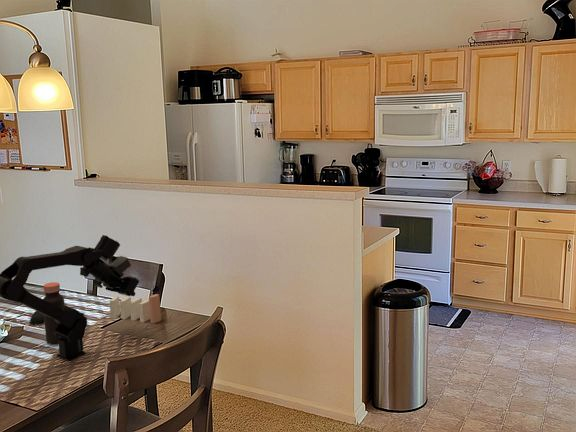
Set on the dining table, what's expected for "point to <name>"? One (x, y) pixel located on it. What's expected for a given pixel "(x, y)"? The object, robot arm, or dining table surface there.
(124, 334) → the dining table surface
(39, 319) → the carrying case or bag
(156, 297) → the terracotta domino
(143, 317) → the ivory domino
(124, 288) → the robot arm
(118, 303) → the ivory domino
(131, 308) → the ivory domino
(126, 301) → the ivory domino
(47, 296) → the bottle
